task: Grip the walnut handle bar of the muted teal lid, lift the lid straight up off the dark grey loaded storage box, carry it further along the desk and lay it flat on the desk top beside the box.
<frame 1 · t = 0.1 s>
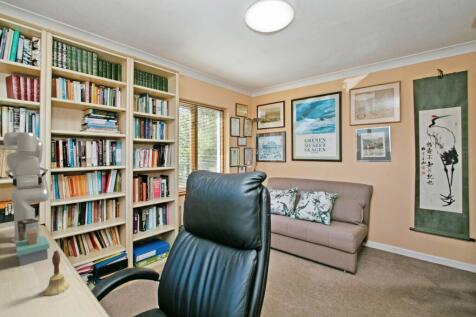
hand: (27, 185, 125), 37 cm above the table, tool pointing down, fingers open, 9 cm apart
box: (32, 257, 118), on the table
coffee box: (28, 248, 129), on the table
lid: (32, 247, 117), point 5 cm above the table, touching box
hand bell: (56, 289, 91), on the table
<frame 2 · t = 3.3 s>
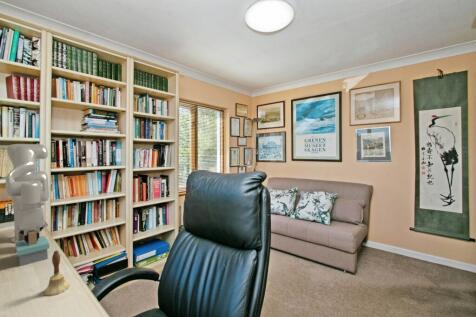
hand: (32, 240, 117), 9 cm above the table, tool pointing down, fingers closed on lid, 3 cm apart
lid: (32, 247, 117), point 6 cm above the table, touching box, gripper
everything else where it was.
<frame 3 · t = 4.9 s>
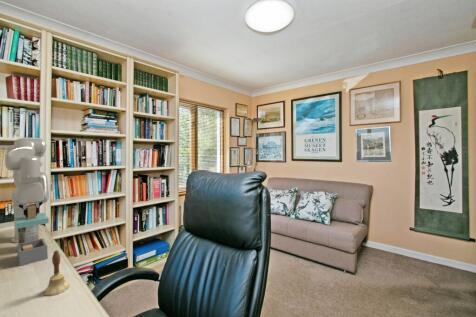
hand: (31, 215, 117), 22 cm above the table, tool pointing down, fingers closed on lid, 3 cm apart
lid: (31, 222, 117), point 19 cm above the table, touching gripper
everything else where it was.
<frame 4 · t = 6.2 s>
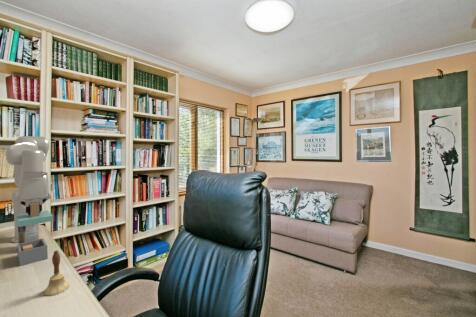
hand: (34, 213, 108), 26 cm above the table, tool pointing down, fingers closed on lid, 3 cm apart
lid: (34, 220, 108), point 23 cm above the table, touching gripper
everything else where it was.
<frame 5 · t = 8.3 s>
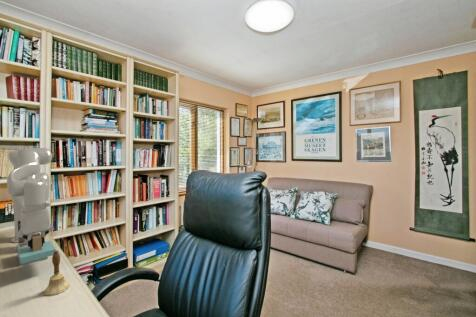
hand: (36, 246, 105), 11 cm above the table, tool pointing down, fingers closed on lid, 3 cm apart
lid: (36, 253, 105), point 8 cm above the table, touching gripper
everything else where it was.
when the fingers open (5 cm above the table, at t = 9.6 s): lid drops 1 cm, on the table.
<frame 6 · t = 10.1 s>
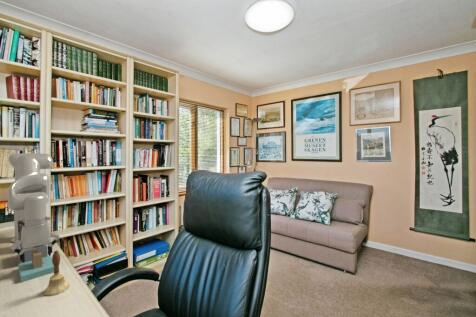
hand: (36, 258, 105), 6 cm above the table, tool pointing down, fingers open, 8 cm apart
lid: (37, 270, 105), on the table
everything else where it was.
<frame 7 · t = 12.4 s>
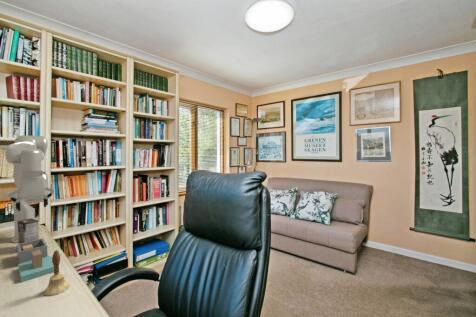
hand: (32, 208, 112), 27 cm above the table, tool pointing down, fingers open, 9 cm apart
nothing on the table moved.
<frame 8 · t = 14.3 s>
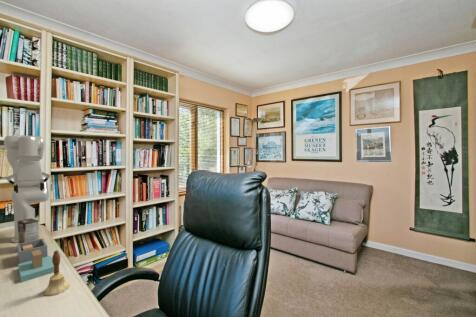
hand: (29, 191, 120), 34 cm above the table, tool pointing down, fingers open, 9 cm apart
nothing on the table moved.
at the end: lid inside the target area (0.1 cm from its centre), on the table; lid tilted 0°; the gripper is holding nothing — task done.
